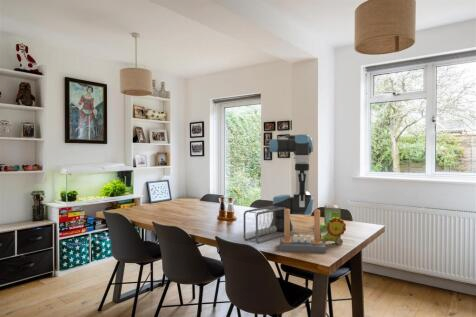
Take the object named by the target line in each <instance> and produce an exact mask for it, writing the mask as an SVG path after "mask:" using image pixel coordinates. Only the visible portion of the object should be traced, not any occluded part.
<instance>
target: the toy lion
mask: <svg viewBox="0 0 476 317" xmlns="http://www.w3.org/2000/svg"><path fill="white" fill-rule="evenodd" d="M346 226H347V224H346V223H345V221H344V220H343V219H341V217H340V218H335V217H332V218H330V219H328V221H327V222H326V224H324V223H323V224H321V225H320V241H324V243H325V244H326V242H333V243H335V244H336V245H337V246H341V245H343V242H344V241H343V239H342V237H341V236H343V235H344V234H345V232H346V231H347V228H346ZM324 229H326V231H327V233H325V234H324V235H323V236H322V231H323V230H324Z"/></svg>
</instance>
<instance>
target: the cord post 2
mask: <svg viewBox="0 0 476 317" xmlns="http://www.w3.org/2000/svg"><path fill="white" fill-rule="evenodd" d="M313 211H314V212H313V213H314V214H313V218H314V219H313V222H314V223H313V224H314V225H313V226H314V227H313V228H314V230H313V231H314V232H313V233H314V235H313V236H314V237H313V241H312V244H315V245H321V244H322V241H320V226H321V210H320V209H314V210H313Z"/></svg>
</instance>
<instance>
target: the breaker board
mask: <svg viewBox="0 0 476 317" xmlns="http://www.w3.org/2000/svg"><path fill="white" fill-rule="evenodd" d="M282 240H284V238H283V239H282V238H281V239H279V244H278V245H279V246H278V248H279V249H278V250H279V251H281V252H298V253H299V252H300V253H302V252H303V253H319V254H320V253H321V254H322V253H324V254H326V253H327V245H326V242H325V243H324V241H322V244H321V245H315V244H312V241H314V239H313V240H311V243H299V242H294V239H291V240H292V243H289V244H286V243H283V242H282ZM306 241H307V239H306Z"/></svg>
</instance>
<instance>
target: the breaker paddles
mask: <svg viewBox="0 0 476 317" xmlns="http://www.w3.org/2000/svg"><path fill="white" fill-rule="evenodd" d="M311 237H312V235H311V234H310V235H309V234H308V235H307V234H306V240H307V241H306V240H305V235H304V234H299V239H298V234H293V240H294V242H299V243H311Z"/></svg>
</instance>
